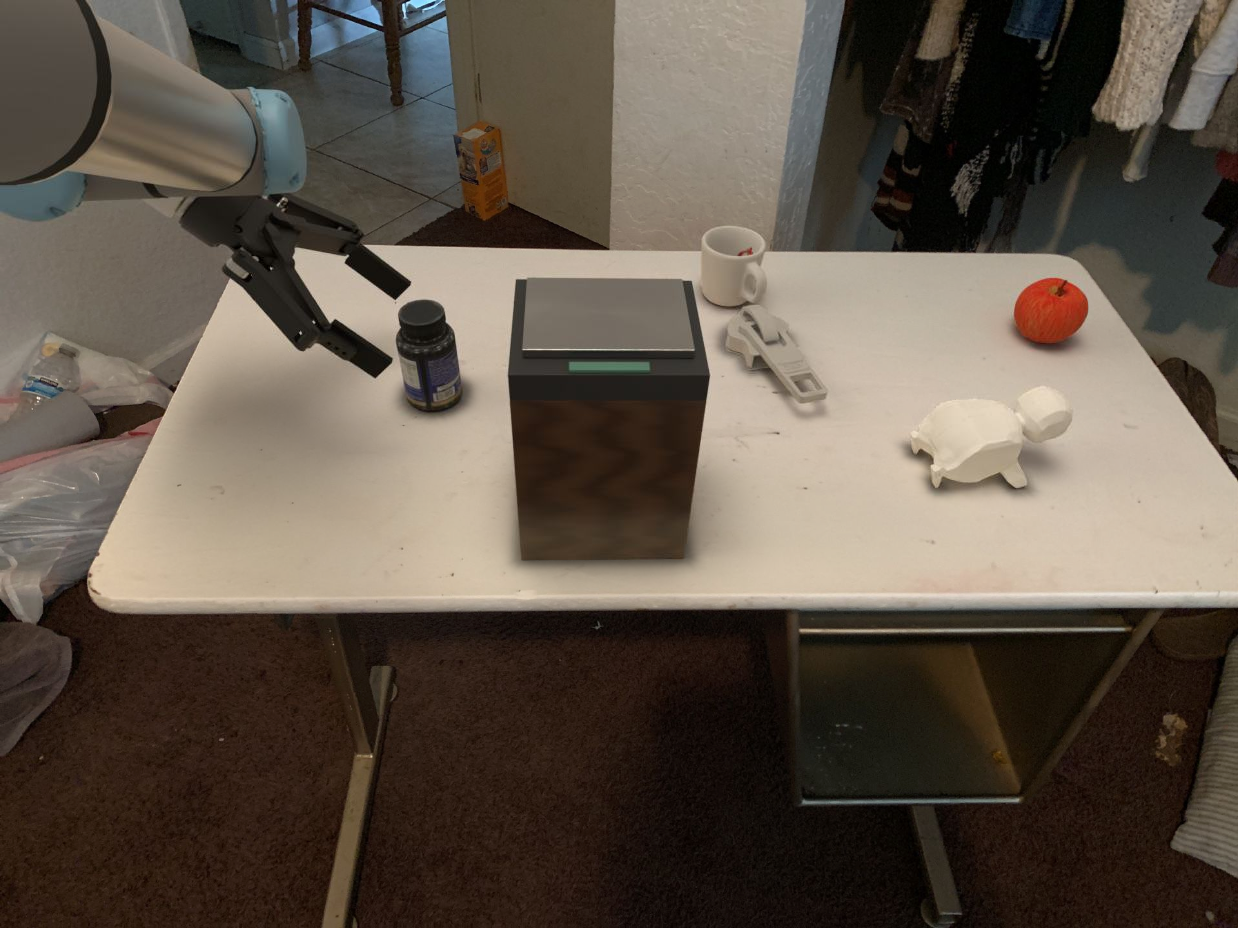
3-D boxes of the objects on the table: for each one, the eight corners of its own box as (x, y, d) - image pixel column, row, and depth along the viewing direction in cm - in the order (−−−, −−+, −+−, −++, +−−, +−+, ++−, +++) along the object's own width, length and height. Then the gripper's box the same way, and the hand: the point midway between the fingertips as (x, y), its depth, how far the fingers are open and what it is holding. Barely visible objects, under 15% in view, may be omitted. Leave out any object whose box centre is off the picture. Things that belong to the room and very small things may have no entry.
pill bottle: (464, 377, 95) (454, 294, 87) (460, 413, 90) (450, 329, 83) (409, 378, 94) (394, 295, 87) (403, 413, 90) (386, 329, 82)
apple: (1061, 319, 108) (1088, 264, 102) (1079, 356, 102) (1109, 301, 96) (998, 313, 108) (1022, 259, 102) (1013, 350, 102) (1039, 295, 97)
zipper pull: (777, 423, 91) (784, 393, 88) (713, 330, 103) (717, 300, 100) (841, 410, 93) (850, 380, 90) (770, 320, 105) (776, 291, 102)
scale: (509, 400, 63) (507, 366, 61) (517, 304, 72) (515, 270, 70) (706, 400, 64) (711, 366, 61) (689, 305, 73) (692, 272, 71)
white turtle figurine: (943, 516, 86) (1087, 465, 84) (938, 464, 80) (1093, 408, 78) (908, 459, 92) (1043, 410, 90) (902, 407, 86) (1045, 354, 84)
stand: (521, 560, 76) (509, 400, 63) (526, 461, 85) (517, 304, 72) (684, 558, 77) (706, 400, 64) (671, 460, 86) (689, 305, 73)
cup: (782, 314, 106) (793, 259, 101) (731, 331, 103) (740, 275, 97) (732, 274, 113) (741, 219, 107) (683, 288, 110) (689, 233, 104)
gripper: (218, 155, 85) (390, 283, 96) (127, 291, 67) (350, 427, 79) (257, 104, 82) (430, 242, 93) (172, 232, 64) (399, 384, 75)
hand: (394, 328), depth 86 cm, fingers open, 13 cm apart
